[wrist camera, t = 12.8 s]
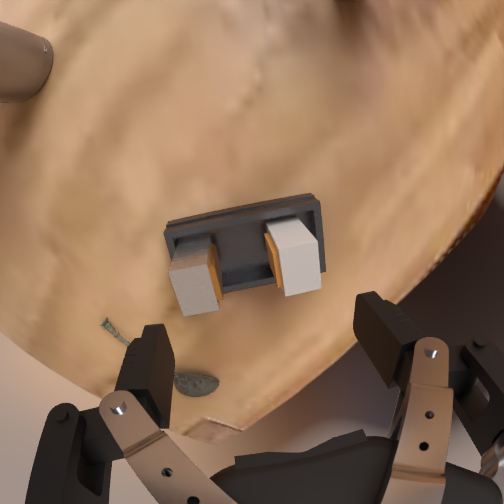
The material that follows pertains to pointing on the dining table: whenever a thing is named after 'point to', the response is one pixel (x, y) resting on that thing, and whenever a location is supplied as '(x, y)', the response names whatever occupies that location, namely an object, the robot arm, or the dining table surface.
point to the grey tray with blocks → (231, 249)
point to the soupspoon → (181, 375)
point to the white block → (293, 256)
